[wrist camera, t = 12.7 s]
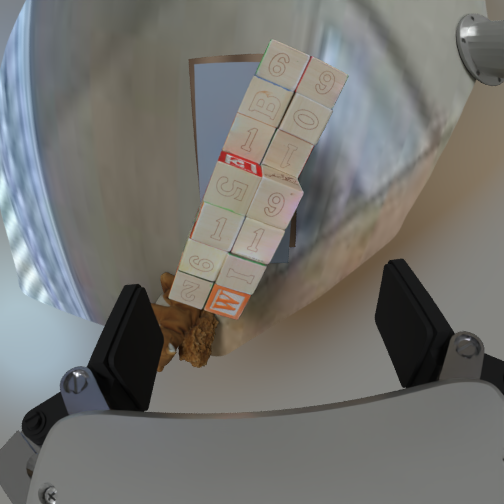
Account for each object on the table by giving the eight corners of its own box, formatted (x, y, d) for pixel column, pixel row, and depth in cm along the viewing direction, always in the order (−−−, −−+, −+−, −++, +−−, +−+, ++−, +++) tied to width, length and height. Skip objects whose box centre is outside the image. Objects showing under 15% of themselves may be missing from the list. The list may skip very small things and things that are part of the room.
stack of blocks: (264, 52, 24) (276, 28, 14) (322, 78, 26) (368, 74, 15) (189, 231, 34) (166, 300, 24) (239, 249, 36) (237, 323, 25)
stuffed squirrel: (162, 266, 47) (140, 324, 35) (234, 308, 51) (232, 369, 40) (137, 303, 50) (116, 360, 39) (203, 339, 55) (196, 396, 44)
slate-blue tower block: (290, 66, 29) (296, 63, 25) (283, 244, 41) (288, 262, 37) (200, 67, 29) (194, 64, 25) (209, 245, 40) (205, 263, 37)
